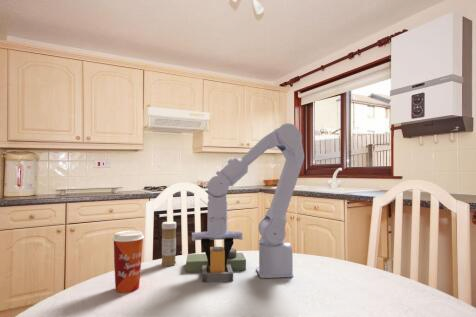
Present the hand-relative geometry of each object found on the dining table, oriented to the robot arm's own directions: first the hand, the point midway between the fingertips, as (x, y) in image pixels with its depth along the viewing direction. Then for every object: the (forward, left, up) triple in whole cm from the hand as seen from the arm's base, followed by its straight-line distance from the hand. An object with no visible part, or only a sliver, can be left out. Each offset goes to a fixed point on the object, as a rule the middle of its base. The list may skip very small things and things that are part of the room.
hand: (217, 264), depth 84 cm
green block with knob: (0, -3, -3) cm, 4 cm away
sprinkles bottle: (+15, -12, -3) cm, 19 cm away
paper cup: (+23, +7, -3) cm, 24 cm away
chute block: (0, 0, -2) cm, 2 cm away
